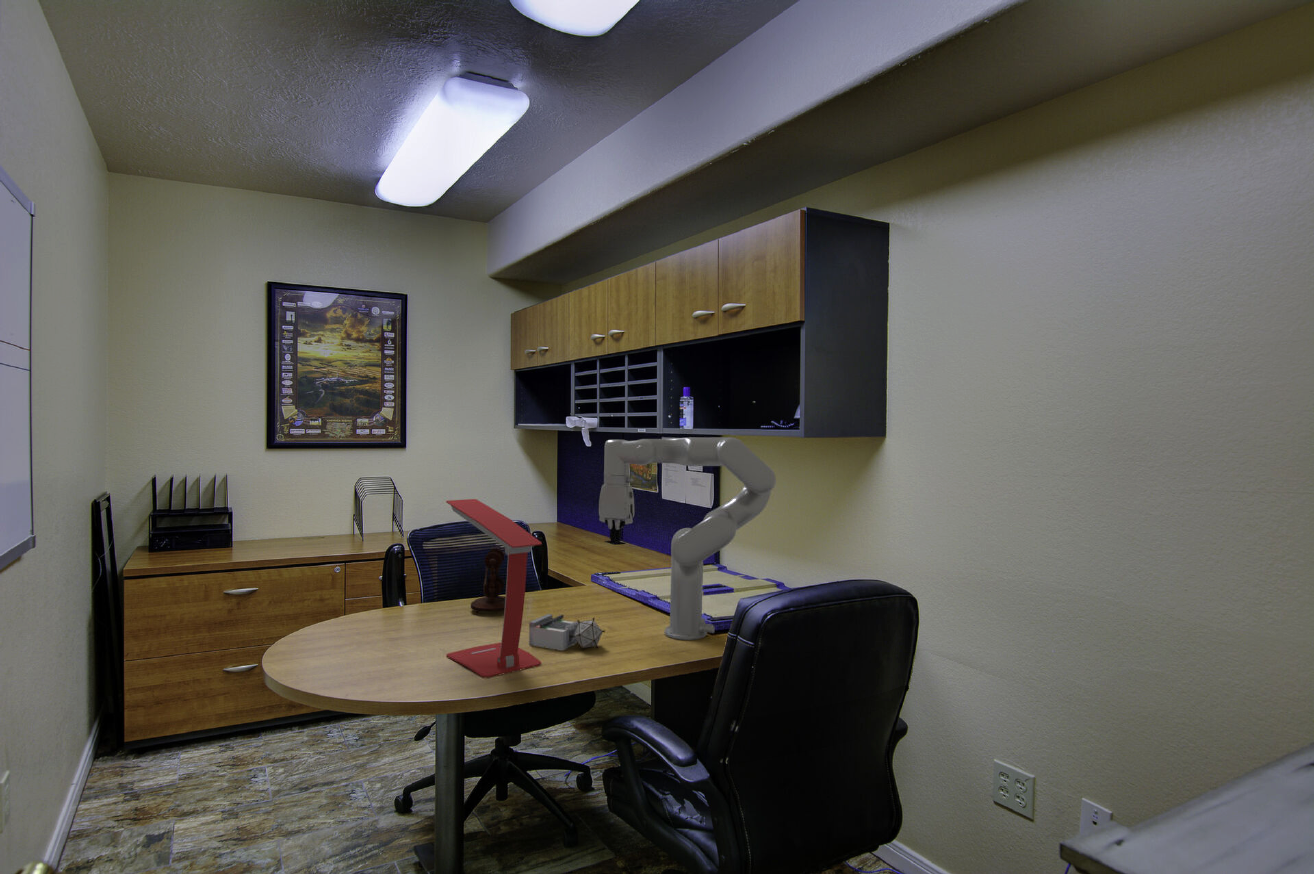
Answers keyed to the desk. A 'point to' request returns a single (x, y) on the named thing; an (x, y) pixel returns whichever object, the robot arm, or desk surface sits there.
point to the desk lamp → (516, 547)
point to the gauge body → (548, 633)
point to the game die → (587, 634)
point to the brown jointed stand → (491, 585)
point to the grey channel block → (569, 629)
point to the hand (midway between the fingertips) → (615, 542)
